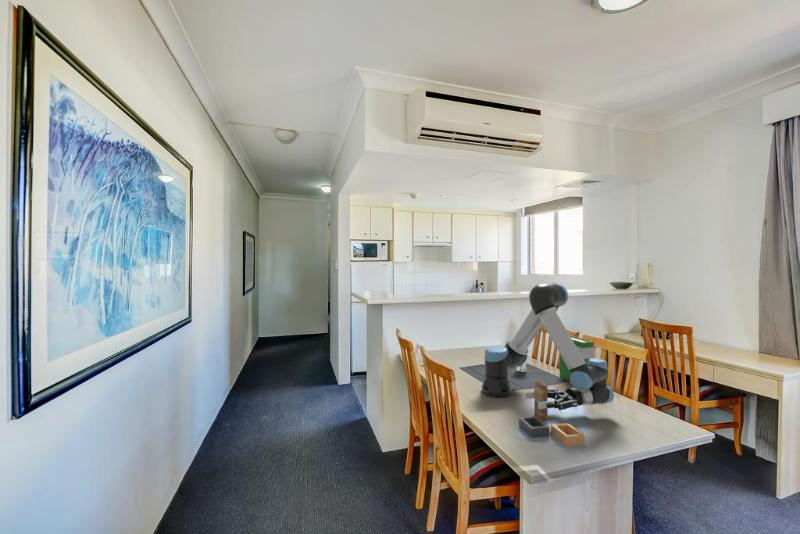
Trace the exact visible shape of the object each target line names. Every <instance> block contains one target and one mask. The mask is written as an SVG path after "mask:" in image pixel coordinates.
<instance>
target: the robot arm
mask: <svg viewBox="0 0 800 534" xmlns="http://www.w3.org/2000/svg"><path fill="white" fill-rule="evenodd" d="M528 299H529V304H530V307H531V309H530V311H529V313H528V314H527V316H526V317H525V319H524V321H523V323H521V325H520V327H519V329H518V331H517V332H516V333H515V334H514V337H513V338H509V339H508V340H507V342H506V344H505V345H504V346H503V345H498V344H497V345H490V346H488V347H486V348H485V349H484V379H483V381H482V385H481V393H482V394H484V395H486V396H488V395H489V396H488V397H493V398H506V397H510V396H511V395H512V386H511V384H510V381H509V376H508V375H509V372H508V371H509V370H510V369H513V368H517V367H518V366H521V365H522V364H524V363H525V362H526V360H527V361H528V353H529V349H528V348H529V347H530V345H531V344H532V342H533V340H534V339H535V337H536V336H537V335H538V333H539V331H540V330H541V329H542V327H544V328H545V330H546V332H547V333H548V335H549V337H550V338H551V340H552V342H553V344H554V346H555V348H556V350H557V351H558V353H559V356H560V355H561V357H562V358H563V360H564V362H565V364H566V365H567V367H568V369H569V371H570V373H571V376H570V380H569V381H570V382H569V383H571V385H572V386H573V387H568V388H566V390H565V391H562V390H561V391H559V388H553V389H551V388H547V399H553V400H547V401H542V402H538V409H545V408H547V409H553V408H554V409H558V411H564V410H566V409H571V408H577V407H578V406H579V407H581V406H583V407H584V406H588V405H598V404H599V405H600V404H601V405H604V404H608V403H611V402H613V401H614V398H615V394H614V392H613V391H614V390H613V389H612V388H611V386H609V385H608V370H609V368H608V363H607V361H606V360H604V359H601V358H595V357H594V358H591V359H589V360H588V364H586V363H585V361H584V359H583V357H582V356H581V354H580V352H579V351H578V349H577V347H576V345H575V344H574V342H573V340H572V339H571V337H570V333H569V331H568V330H567V328H566V327H565V324H564V323H563V322H562V320H561V318H560V316H559V315H558V313H557V311H558V310H559V309H560V307H563V306H564V305H565V304H566V303H568V300H569V293H568V290H567V289H566V287H565V286H564V285H562V284H561V283H557V282H556V283H555V282H551V283H541V284H537V285H535V286H533V287H532V288H531V290H530V292H529V295H528ZM526 363H527V362H526ZM587 365H588V366H587ZM525 399H526V400H528V399H529V400H531V399H534V391H525V392H524V400H525Z"/></svg>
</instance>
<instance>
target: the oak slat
mask: <svg viewBox="0 0 800 534" xmlns="http://www.w3.org/2000/svg"><path fill="white" fill-rule="evenodd" d="M533 387H534V391H533V392H534V398H533V399H534V402H533V403H534V410H533V411H534V416H536V417H537V418H539V419H540V420H541V421H542V422H543V421H548V420H549V419H548V415H549V414H548V412H549V411H548V409H549V408H545V409H538V402H542V401H548V398H547V389H548V384H546V383H544V382H543V381H534V383H533Z"/></svg>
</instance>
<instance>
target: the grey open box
mask: <svg viewBox="0 0 800 534" xmlns="http://www.w3.org/2000/svg"><path fill="white" fill-rule="evenodd" d="M518 424H519V427H521V428H522V429H523V430H524V431H525V432H526V433H527V434H528V435H529V436H530V437H531V438H536V437H545V436H549V427H550V426H548V425H547V424H546V423H545V422H543V420H542V421H541V420H540V419H539V418H537V417H536V416H535V415H533V416H522V417H519V418H518ZM532 426H535V427H532Z"/></svg>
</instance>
